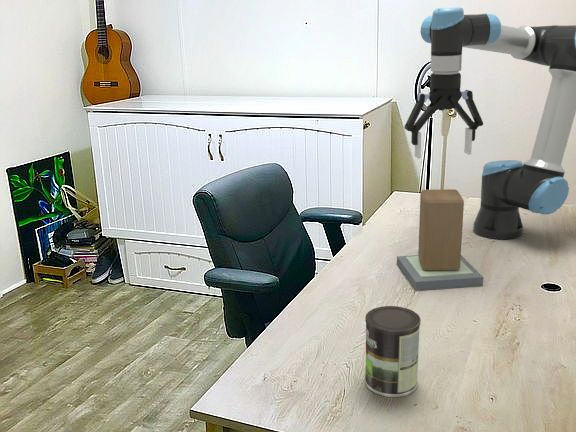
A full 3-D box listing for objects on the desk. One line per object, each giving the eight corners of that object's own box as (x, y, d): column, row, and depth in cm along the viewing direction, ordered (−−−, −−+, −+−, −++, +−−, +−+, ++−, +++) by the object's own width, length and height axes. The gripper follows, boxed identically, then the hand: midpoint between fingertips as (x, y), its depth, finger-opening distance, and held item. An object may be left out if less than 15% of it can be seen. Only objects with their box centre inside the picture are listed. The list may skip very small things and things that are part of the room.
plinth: (457, 260, 181) (458, 250, 180) (482, 285, 164) (483, 275, 163) (396, 264, 180) (396, 254, 179) (415, 290, 163) (415, 280, 162)
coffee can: (370, 399, 118) (371, 332, 114) (360, 370, 128) (360, 307, 123) (424, 395, 119) (427, 328, 114) (410, 366, 128) (412, 303, 124)
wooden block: (454, 257, 175) (457, 188, 169) (460, 271, 166) (464, 199, 160) (417, 257, 176) (420, 188, 170) (422, 271, 167) (424, 199, 160)
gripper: (486, 68, 163) (482, 148, 170) (393, 73, 160) (392, 155, 167) (499, 70, 156) (494, 154, 163) (401, 76, 153) (400, 161, 160)
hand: (442, 155), depth 165 cm, fingers open, 13 cm apart
